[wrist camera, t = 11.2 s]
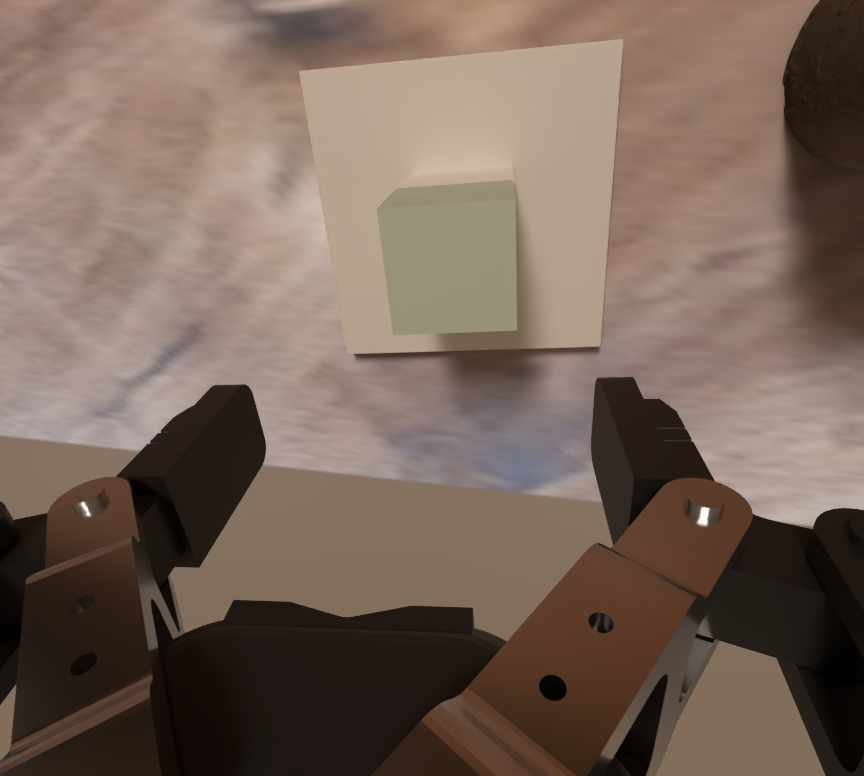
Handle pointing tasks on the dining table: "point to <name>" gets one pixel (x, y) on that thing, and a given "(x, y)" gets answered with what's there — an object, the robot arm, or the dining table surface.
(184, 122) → the dining table surface
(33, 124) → the dining table surface
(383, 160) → the baseplate
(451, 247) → the sage block
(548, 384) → the dining table surface
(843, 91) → the pillar candle
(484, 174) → the beige block
